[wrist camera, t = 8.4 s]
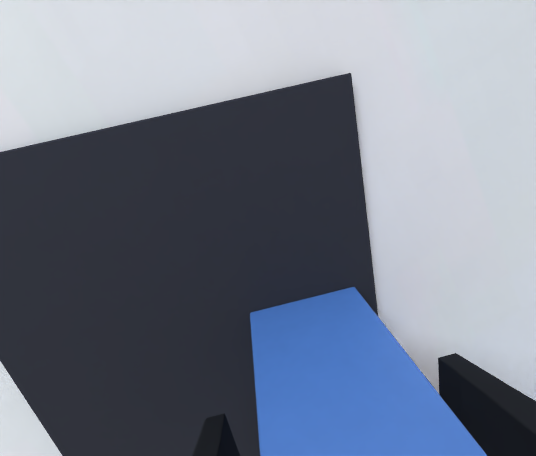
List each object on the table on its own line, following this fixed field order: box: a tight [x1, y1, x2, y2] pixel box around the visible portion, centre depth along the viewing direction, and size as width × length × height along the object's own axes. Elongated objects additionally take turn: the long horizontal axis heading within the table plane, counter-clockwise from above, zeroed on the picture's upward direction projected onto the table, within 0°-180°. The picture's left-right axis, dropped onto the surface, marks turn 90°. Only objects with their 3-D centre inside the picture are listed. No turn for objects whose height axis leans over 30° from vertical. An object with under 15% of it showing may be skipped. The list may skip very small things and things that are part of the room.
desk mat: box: [0, 73, 378, 456], centre depth 12 cm, size 15×20×1 cm
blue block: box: [250, 287, 487, 456], centre depth 8 cm, size 4×4×8 cm
